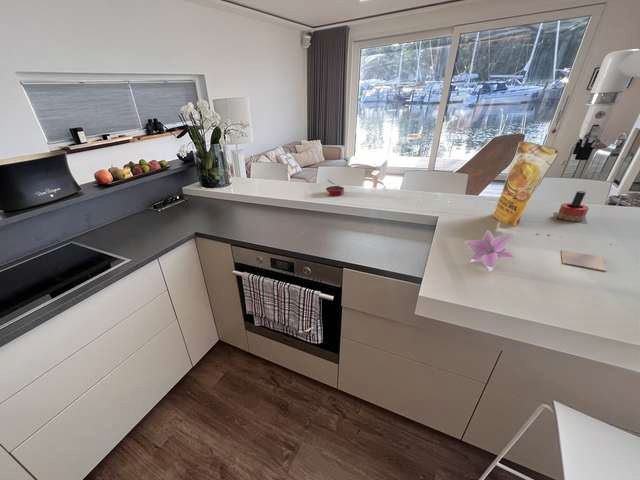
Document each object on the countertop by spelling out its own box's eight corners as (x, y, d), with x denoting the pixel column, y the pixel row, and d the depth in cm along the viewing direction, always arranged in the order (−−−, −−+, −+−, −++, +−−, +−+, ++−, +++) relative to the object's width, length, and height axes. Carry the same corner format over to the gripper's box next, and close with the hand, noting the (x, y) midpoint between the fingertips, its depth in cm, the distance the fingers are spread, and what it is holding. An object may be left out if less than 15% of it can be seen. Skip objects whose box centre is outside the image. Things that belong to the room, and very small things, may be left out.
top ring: (584, 210, 106) (587, 204, 105) (586, 217, 101) (589, 210, 100) (558, 208, 110) (561, 202, 109) (559, 214, 105) (562, 207, 104)
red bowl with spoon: (328, 199, 166) (329, 182, 166) (345, 198, 162) (346, 181, 162) (322, 196, 156) (323, 177, 156) (341, 194, 152) (341, 176, 151)
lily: (458, 255, 95) (458, 237, 88) (495, 240, 92) (499, 220, 85) (480, 283, 87) (482, 265, 80) (522, 267, 84) (528, 248, 77)
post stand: (583, 218, 108) (597, 189, 102) (586, 227, 102) (600, 196, 96) (552, 215, 113) (563, 187, 107) (552, 222, 107) (565, 194, 101)
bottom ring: (582, 216, 107) (584, 210, 106) (583, 222, 102) (586, 217, 101) (556, 213, 111) (558, 208, 110) (557, 219, 106) (559, 214, 105)
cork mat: (601, 257, 85) (602, 256, 84) (605, 271, 79) (606, 270, 79) (560, 251, 90) (561, 250, 89) (562, 263, 84) (562, 262, 84)
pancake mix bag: (505, 212, 119) (529, 139, 105) (531, 231, 103) (563, 148, 89) (487, 212, 120) (508, 141, 106) (509, 231, 104) (538, 149, 90)
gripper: (627, 100, 81) (598, 162, 89) (616, 96, 92) (592, 152, 101) (590, 101, 85) (566, 161, 94) (584, 98, 96) (563, 152, 105)
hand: (579, 156), depth 97 cm, fingers open, 9 cm apart
